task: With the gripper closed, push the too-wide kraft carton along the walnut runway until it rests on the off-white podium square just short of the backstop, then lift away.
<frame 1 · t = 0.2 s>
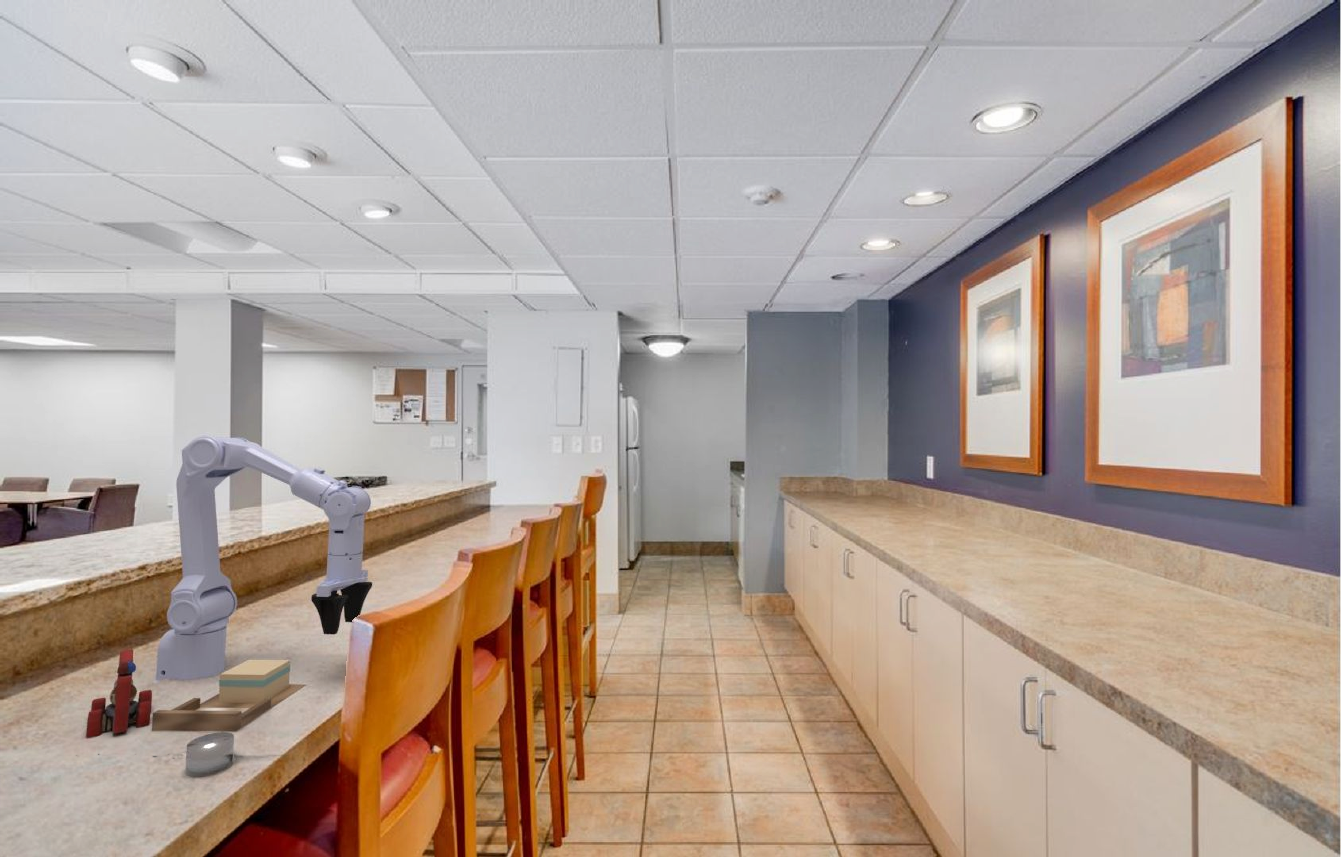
hand: (341, 627, 111), 10 cm above the table, fingers open, 7 cm apart
grey tin: (209, 767, 80), on the table
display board: (236, 711, 97), on the table
carton: (255, 694, 101), point 1 cm above the table, touching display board
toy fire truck: (119, 729, 90), on the table
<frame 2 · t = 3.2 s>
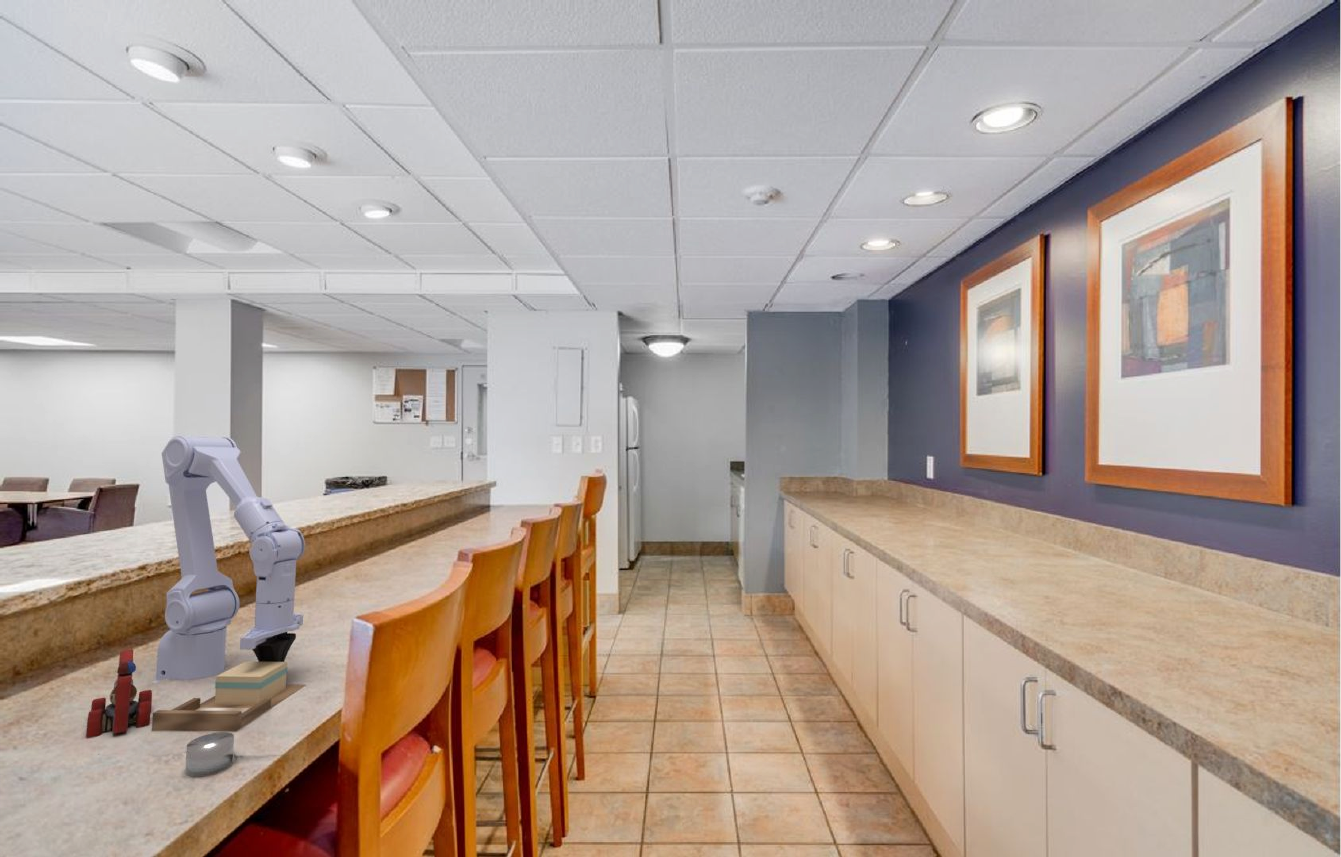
hand: (271, 678, 106), 2 cm above the table, fingers closed
carton: (251, 696, 100), point 1 cm above the table, touching gripper
everything else where it was.
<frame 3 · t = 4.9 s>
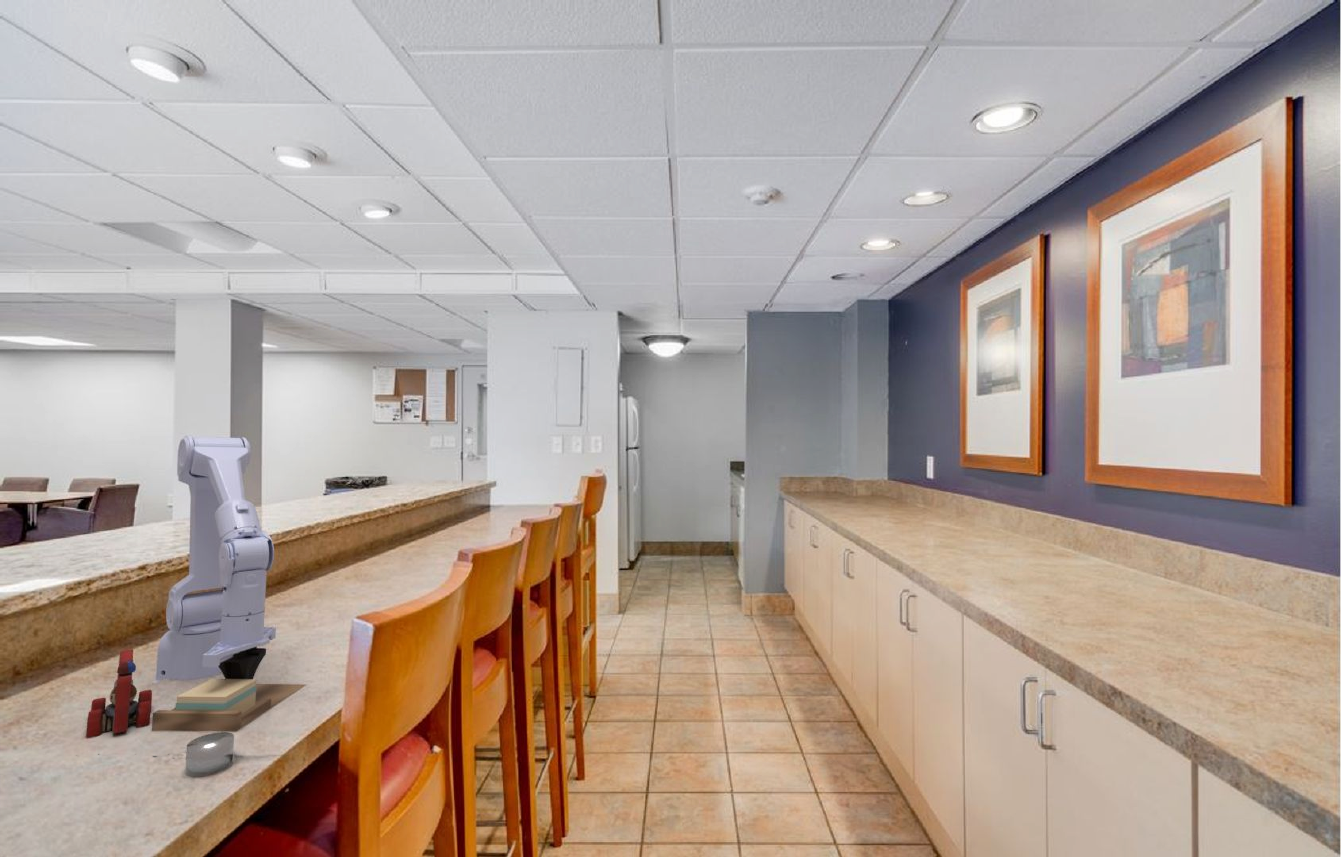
hand: (238, 697, 97), 2 cm above the table, fingers closed
carton: (216, 717, 92), point 1 cm above the table, touching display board, gripper
everything else where it was.
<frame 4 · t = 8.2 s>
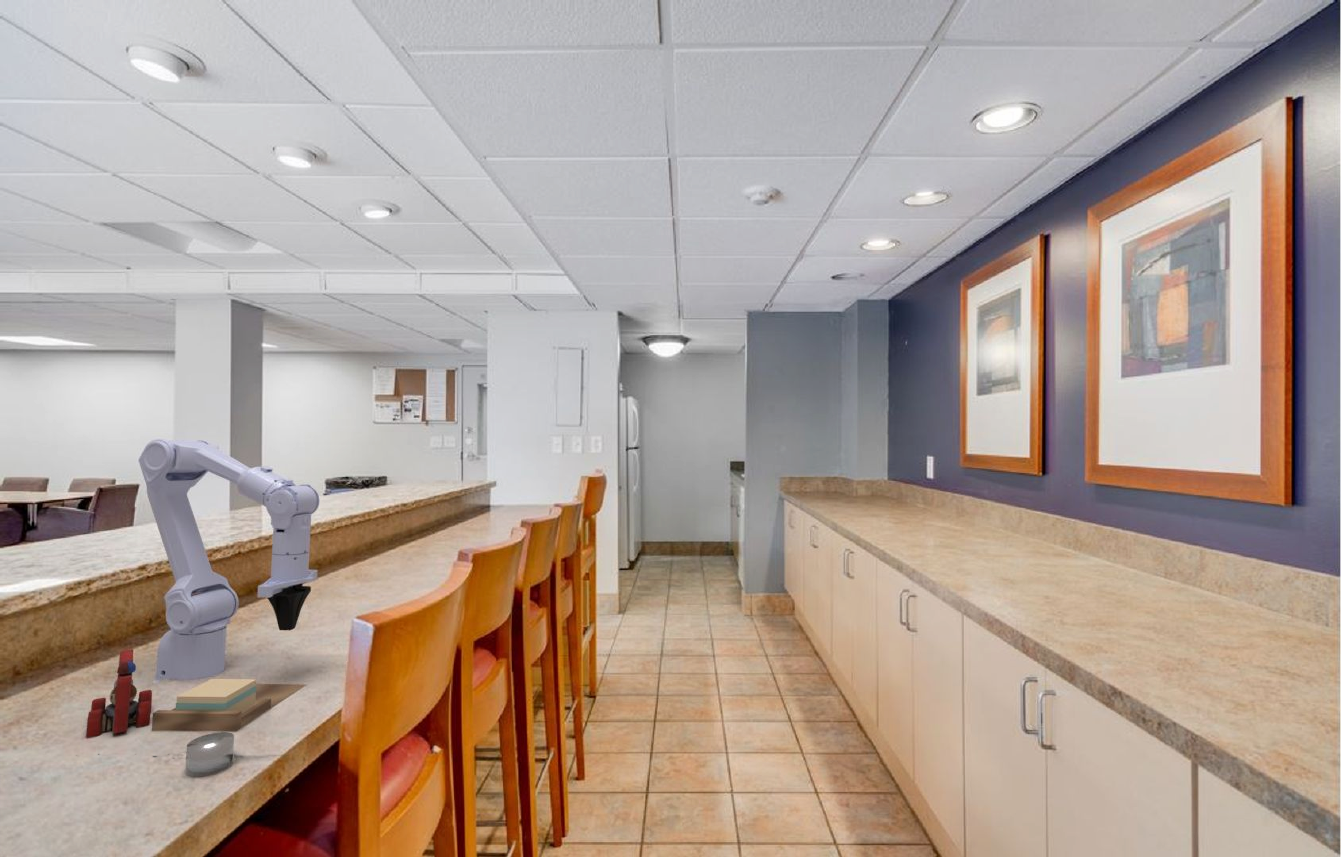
hand: (287, 629, 108), 10 cm above the table, fingers closed
carton: (216, 717, 92), point 1 cm above the table, touching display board
everything else where it was.
at the end: carton inside the target area on the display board (0.2 cm from its centre), point 1.0 cm above the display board's base; carton tilted 0° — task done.
